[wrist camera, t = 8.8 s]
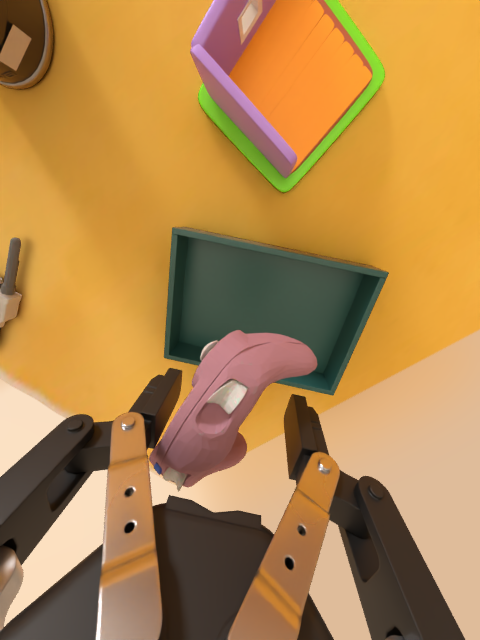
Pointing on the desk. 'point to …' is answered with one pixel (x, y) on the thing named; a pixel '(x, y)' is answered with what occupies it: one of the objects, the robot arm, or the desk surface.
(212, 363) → the video game controller
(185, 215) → the desk surface
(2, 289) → the walkie-talkie
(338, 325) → the tray
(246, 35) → the dollhouse room
